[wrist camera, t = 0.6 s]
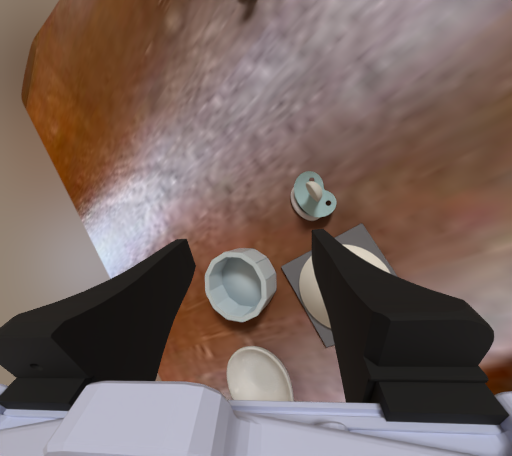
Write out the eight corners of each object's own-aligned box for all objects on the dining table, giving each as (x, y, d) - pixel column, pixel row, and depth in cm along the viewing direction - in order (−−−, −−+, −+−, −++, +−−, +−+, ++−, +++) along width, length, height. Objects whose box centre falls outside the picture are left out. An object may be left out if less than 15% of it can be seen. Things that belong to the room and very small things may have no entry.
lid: (416, 311, 28) (427, 326, 24) (327, 343, 32) (325, 359, 29) (360, 228, 30) (363, 229, 26) (285, 268, 35) (278, 273, 31)
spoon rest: (225, 349, 40) (202, 374, 34) (274, 327, 36) (259, 351, 30) (289, 478, 36) (277, 536, 30) (352, 470, 32) (355, 535, 26)
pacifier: (308, 228, 34) (342, 206, 31) (300, 231, 28) (340, 204, 26) (283, 192, 35) (314, 169, 33) (271, 187, 29) (306, 158, 27)
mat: (421, 312, 28) (422, 314, 27) (326, 345, 33) (326, 347, 32) (361, 223, 30) (361, 223, 30) (281, 266, 35) (281, 266, 35)
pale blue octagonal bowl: (288, 294, 35) (279, 305, 30) (238, 317, 39) (224, 331, 34) (256, 237, 37) (243, 239, 32) (212, 265, 41) (195, 270, 36)
